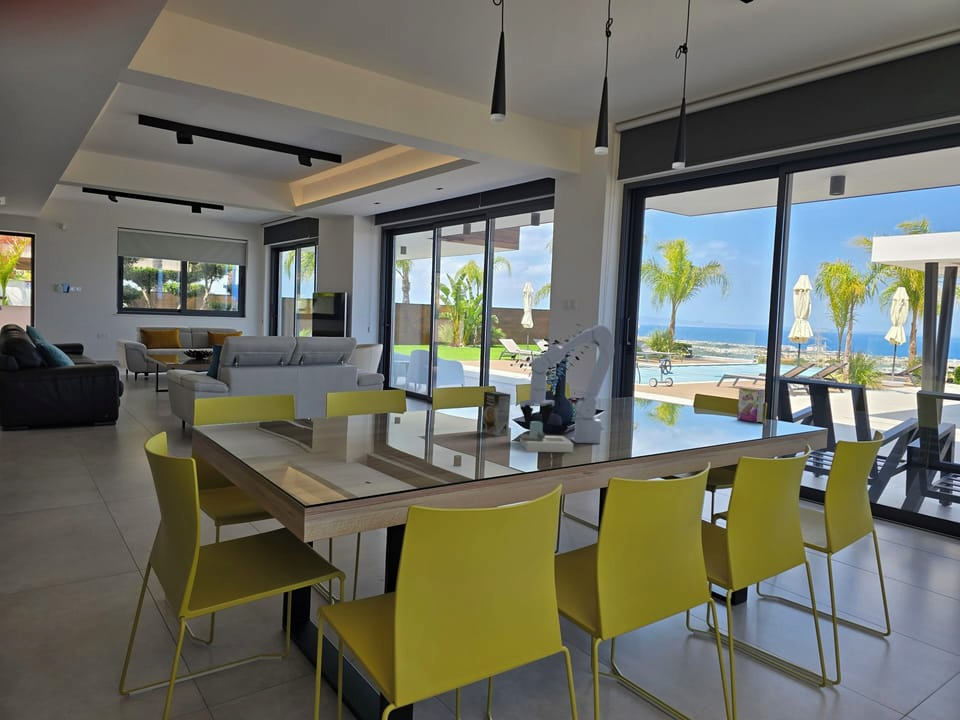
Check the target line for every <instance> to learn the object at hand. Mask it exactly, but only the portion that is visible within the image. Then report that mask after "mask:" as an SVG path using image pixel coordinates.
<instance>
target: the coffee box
mask: <svg viewBox="0 0 960 720" xmlns="http://www.w3.org/2000/svg"><path fill="white" fill-rule="evenodd" d="M483 393H484V394H483V413H482V416H483V417H482V433H484V434H488V435H492V436H496V437H500V436H501V437H502V436H503V437H504V436H509V428H510V427H509V425H510V413H511V412H510V407H511V394H510V393H506V392H505V393H504V392H500V391H495V390H494V391H489V390H488V391H483Z"/></svg>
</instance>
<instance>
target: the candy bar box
mask: <svg viewBox="0 0 960 720" xmlns="http://www.w3.org/2000/svg"><path fill="white" fill-rule="evenodd" d="M765 392H766V391H765V389H761V388H755V387H749V386H740V387H739V389H738V402H737V403H738V404H737V405H738V407H737V418H736V419H737V420H739V419H740V421H744V420H745V422H749V421H750V423H754V422H756V423H755V424H758V423H757V422H762V423H763V417H764V403H765Z"/></svg>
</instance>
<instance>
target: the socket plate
mask: <svg viewBox="0 0 960 720" xmlns="http://www.w3.org/2000/svg"><path fill="white" fill-rule="evenodd" d="M519 444H520V445H521V446H522V447H523V448H524V450H525V451H526V452H535V453H536V452H537V453H539V452H540V453H544V452H545V453H574V443H573V442H572V441H570V440H569V439H568V438H567V437H565V436H564V435H545V439H543V441H526V440H522V439H521V438H520V437H519Z"/></svg>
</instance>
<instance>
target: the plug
mask: <svg viewBox="0 0 960 720" xmlns="http://www.w3.org/2000/svg"><path fill="white" fill-rule="evenodd" d="M543 427H544V425H543V423H542V421H538V420H537V421H536V420H535V421H533V420H531V424H530V426H529V434H530V435H537V434H538V431H541V432H544V431H543Z"/></svg>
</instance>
